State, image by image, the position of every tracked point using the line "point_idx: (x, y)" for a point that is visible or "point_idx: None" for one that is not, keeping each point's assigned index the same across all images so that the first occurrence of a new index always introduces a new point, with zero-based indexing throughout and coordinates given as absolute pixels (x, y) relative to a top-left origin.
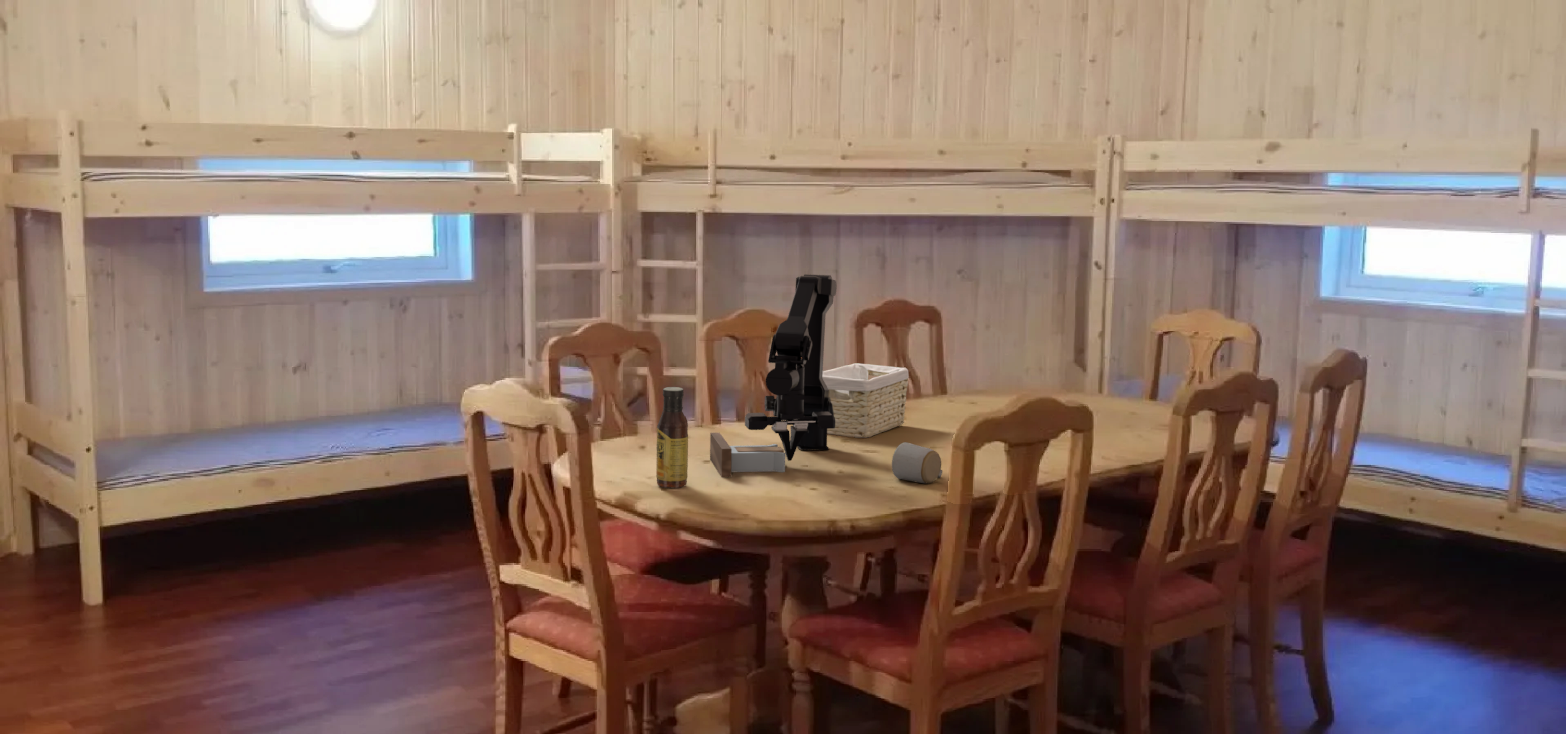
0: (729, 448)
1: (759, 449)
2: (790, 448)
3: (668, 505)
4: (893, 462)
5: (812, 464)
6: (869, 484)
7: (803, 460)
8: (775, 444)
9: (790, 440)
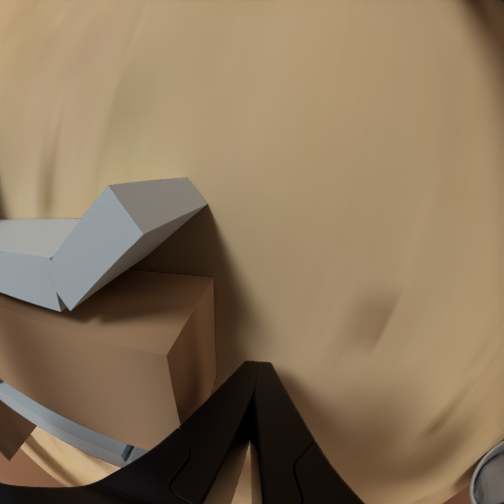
0: (4, 455)
1: (38, 382)
2: (252, 451)
3: (46, 470)
4: (471, 502)
5: (426, 289)
6: (399, 498)
7: (417, 153)
8: (119, 220)
9: (259, 484)
